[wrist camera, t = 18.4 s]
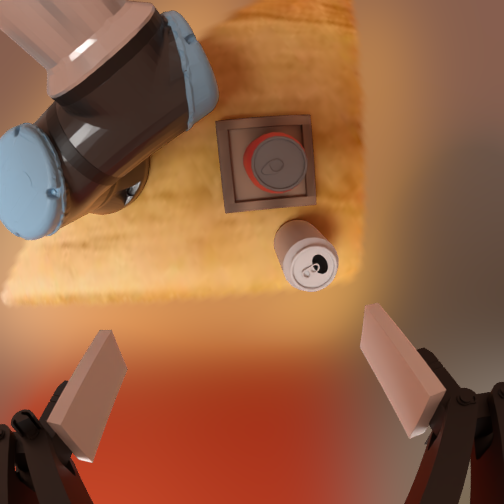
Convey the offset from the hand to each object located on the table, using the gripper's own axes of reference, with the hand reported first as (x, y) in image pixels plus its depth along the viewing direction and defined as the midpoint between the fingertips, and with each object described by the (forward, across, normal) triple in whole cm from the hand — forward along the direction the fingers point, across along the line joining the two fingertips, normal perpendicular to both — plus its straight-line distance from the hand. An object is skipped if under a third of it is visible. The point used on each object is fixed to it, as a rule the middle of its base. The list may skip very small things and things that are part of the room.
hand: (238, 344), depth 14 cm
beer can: (+29, +5, +7) cm, 30 cm away
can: (+33, +9, -6) cm, 35 cm away
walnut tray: (+33, +5, +7) cm, 34 cm away
